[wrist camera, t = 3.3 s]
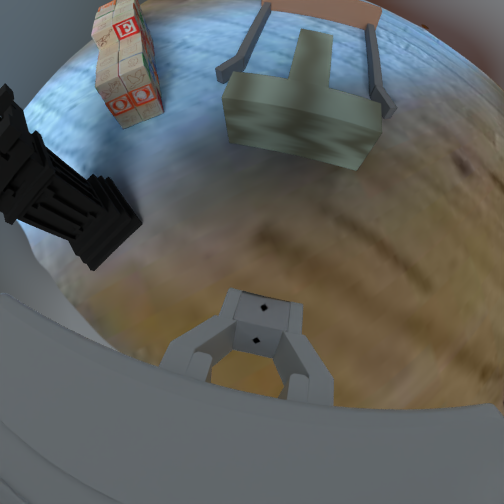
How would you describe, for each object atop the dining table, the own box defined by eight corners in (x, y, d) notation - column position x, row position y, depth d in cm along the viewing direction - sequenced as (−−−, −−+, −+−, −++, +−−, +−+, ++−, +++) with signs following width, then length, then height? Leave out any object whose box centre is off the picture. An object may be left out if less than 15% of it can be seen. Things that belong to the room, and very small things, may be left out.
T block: (359, 86, 32) (375, 47, 24) (356, 170, 29) (382, 132, 21) (257, 64, 33) (257, 22, 25) (229, 142, 30) (221, 97, 22)
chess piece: (94, 271, 28) (-53, 225, 8) (67, 222, 29) (-51, 156, 9) (142, 224, 28) (15, 122, 9) (111, 179, 30) (8, 77, 10)
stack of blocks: (166, 114, 31) (135, 46, 19) (123, 131, 31) (81, 72, 19) (152, 40, 35) (134, -10, 23) (121, 53, 35) (98, 6, 23)
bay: (378, 30, 35) (386, 9, 29) (390, 121, 30) (407, 94, 25) (258, 5, 37) (257, -18, 31) (216, 83, 32) (210, 51, 26)
